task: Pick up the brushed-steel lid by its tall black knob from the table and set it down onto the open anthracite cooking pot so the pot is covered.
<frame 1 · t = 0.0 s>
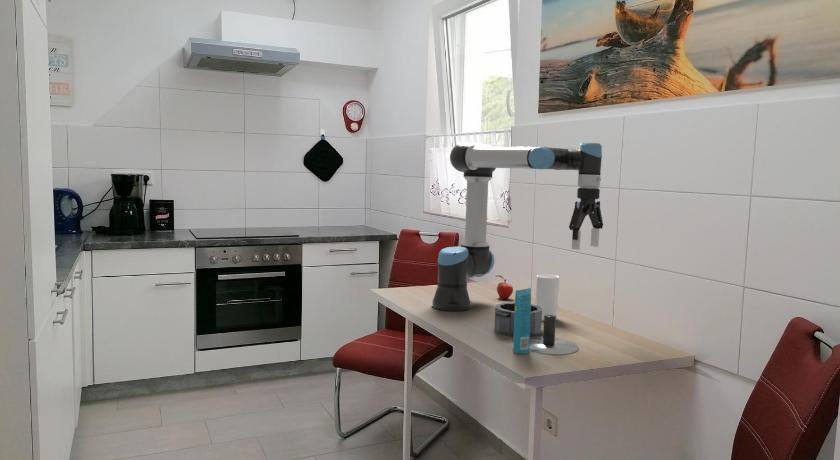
hand: (585, 247, 218), 28 cm above the table, fingers open, 13 cm apart
apple: (503, 299, 263), on the table
pot: (517, 330, 211), on the table
tube: (520, 352, 187), on the table
lid: (548, 346, 194), on the table
cup: (545, 318, 230), on the table
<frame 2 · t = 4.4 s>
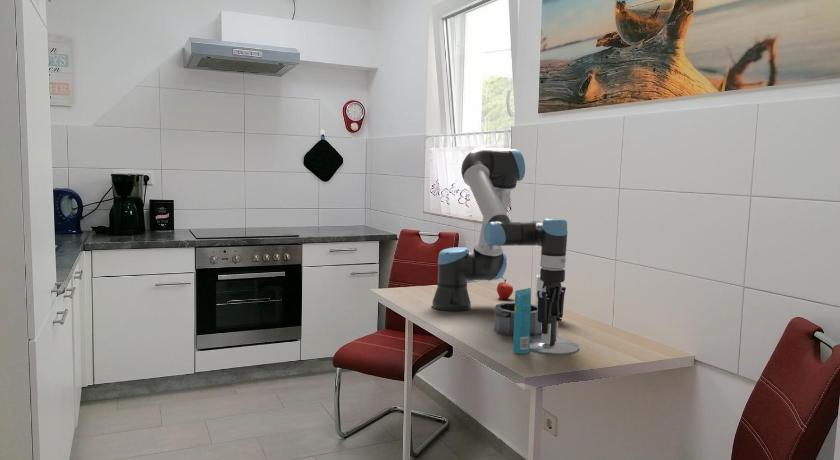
hand: (549, 342, 194), 1 cm above the table, fingers closed on lid, 4 cm apart
lid: (548, 345, 194), on the table, touching gripper
everything else where it was.
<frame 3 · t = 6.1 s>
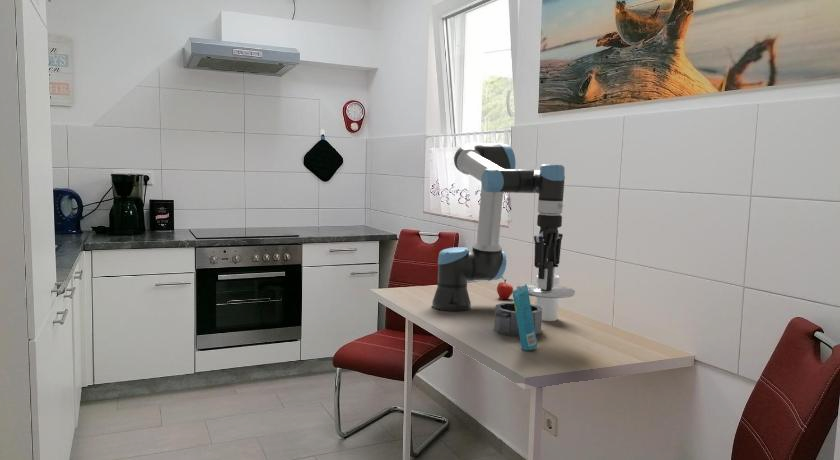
hand: (545, 287, 195), 18 cm above the table, fingers closed on lid, 4 cm apart
tube: (529, 348, 190), on the table
lid: (545, 291, 195), point 17 cm above the table, touching gripper
everything else where it was.
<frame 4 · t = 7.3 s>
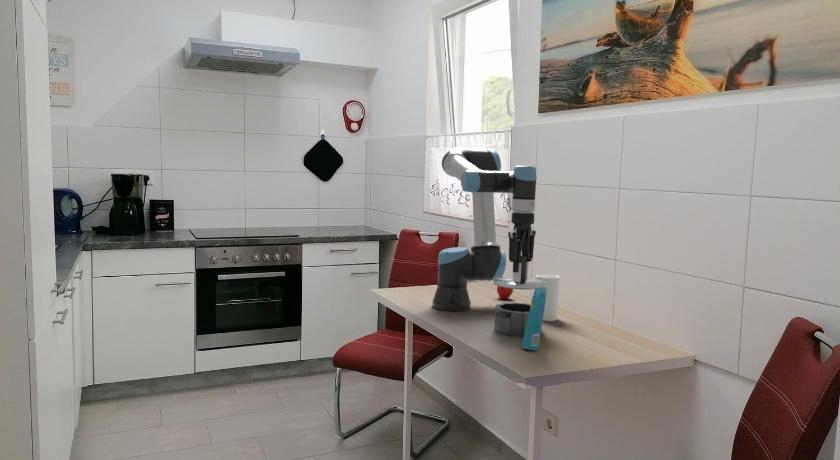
hand: (520, 280, 210), 17 cm above the table, fingers closed on lid, 4 cm apart
lid: (519, 284, 210), point 16 cm above the table, touching gripper
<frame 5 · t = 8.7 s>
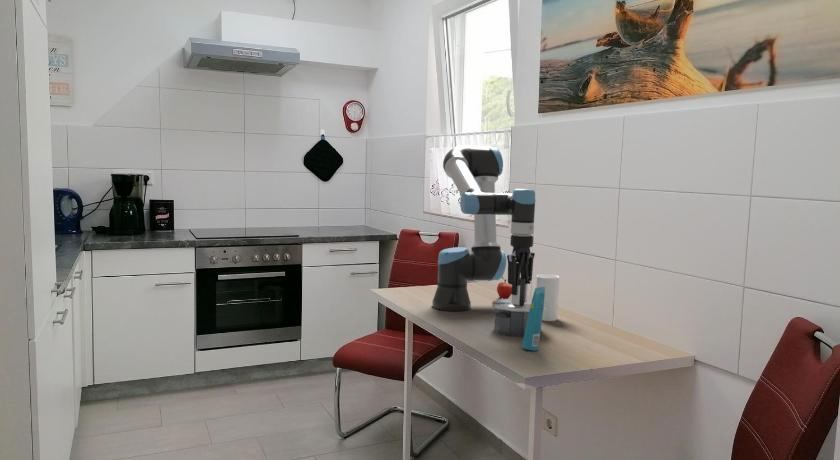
hand: (518, 303, 210), 10 cm above the table, fingers closed on lid, 4 cm apart
lid: (518, 306, 211), point 8 cm above the table, touching gripper
when the fingers open (10 cm above the table, at t = 9.1 s): lid stays where it is, resting on pot.
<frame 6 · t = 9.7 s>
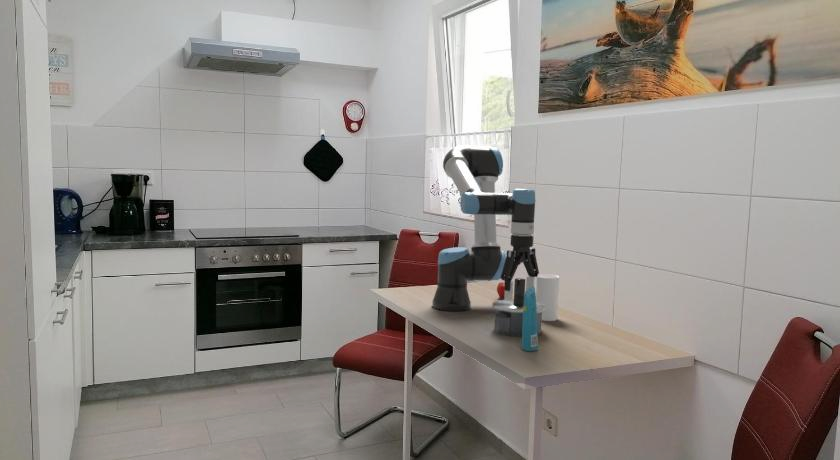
hand: (519, 297, 210), 11 cm above the table, fingers open, 12 cm apart
lid: (518, 307, 211), point 8 cm above the table, touching pot
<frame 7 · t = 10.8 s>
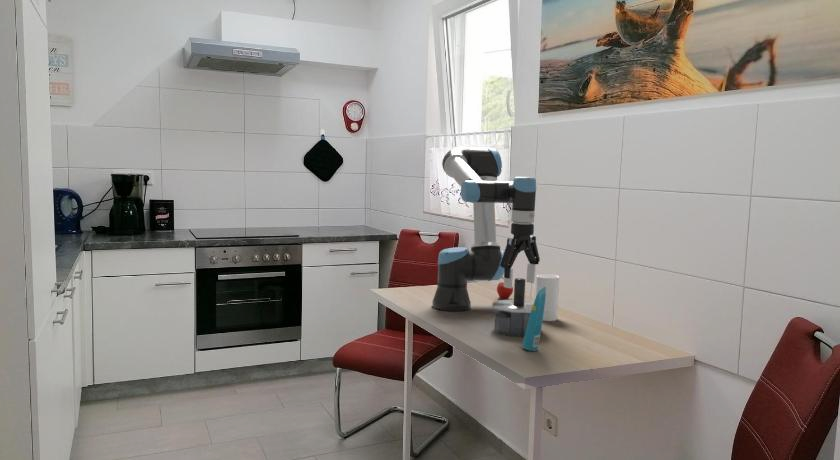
hand: (519, 285, 210), 16 cm above the table, fingers open, 13 cm apart
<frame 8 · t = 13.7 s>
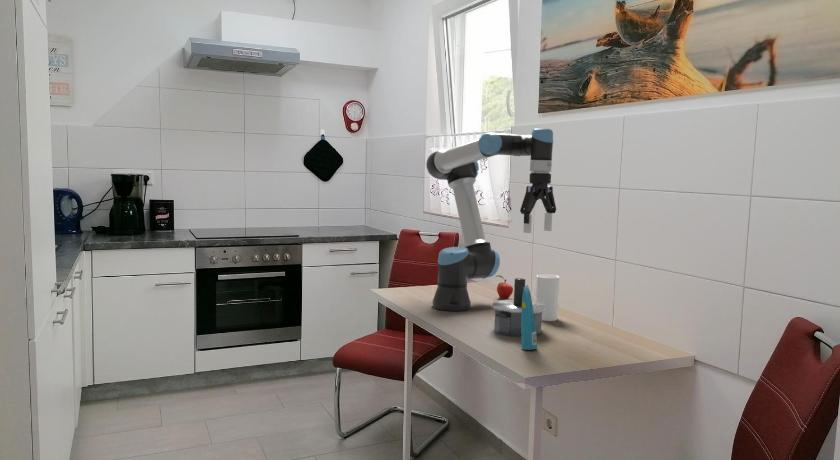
hand: (537, 231, 222), 33 cm above the table, fingers open, 13 cm apart
at the end: lid 0.1 cm from the pot (horizontally); lid inside the target area on the pot (0.0 cm from its centre), point 8.0 cm above the pot's base; lid tilted 0° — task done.
